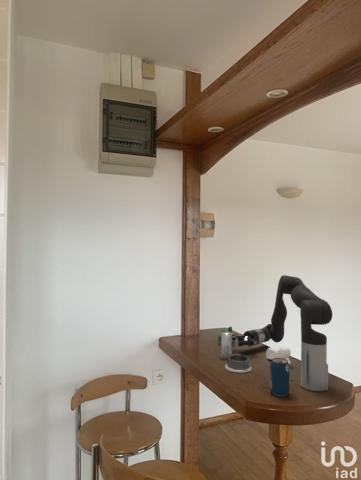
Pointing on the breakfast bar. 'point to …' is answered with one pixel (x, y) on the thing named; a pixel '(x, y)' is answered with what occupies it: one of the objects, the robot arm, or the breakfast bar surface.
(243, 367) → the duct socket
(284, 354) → the white crumpled piece
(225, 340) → the pipe
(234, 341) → the dark teal irregular lump
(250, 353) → the breakfast bar surface
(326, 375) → the robot arm
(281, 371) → the soda can
